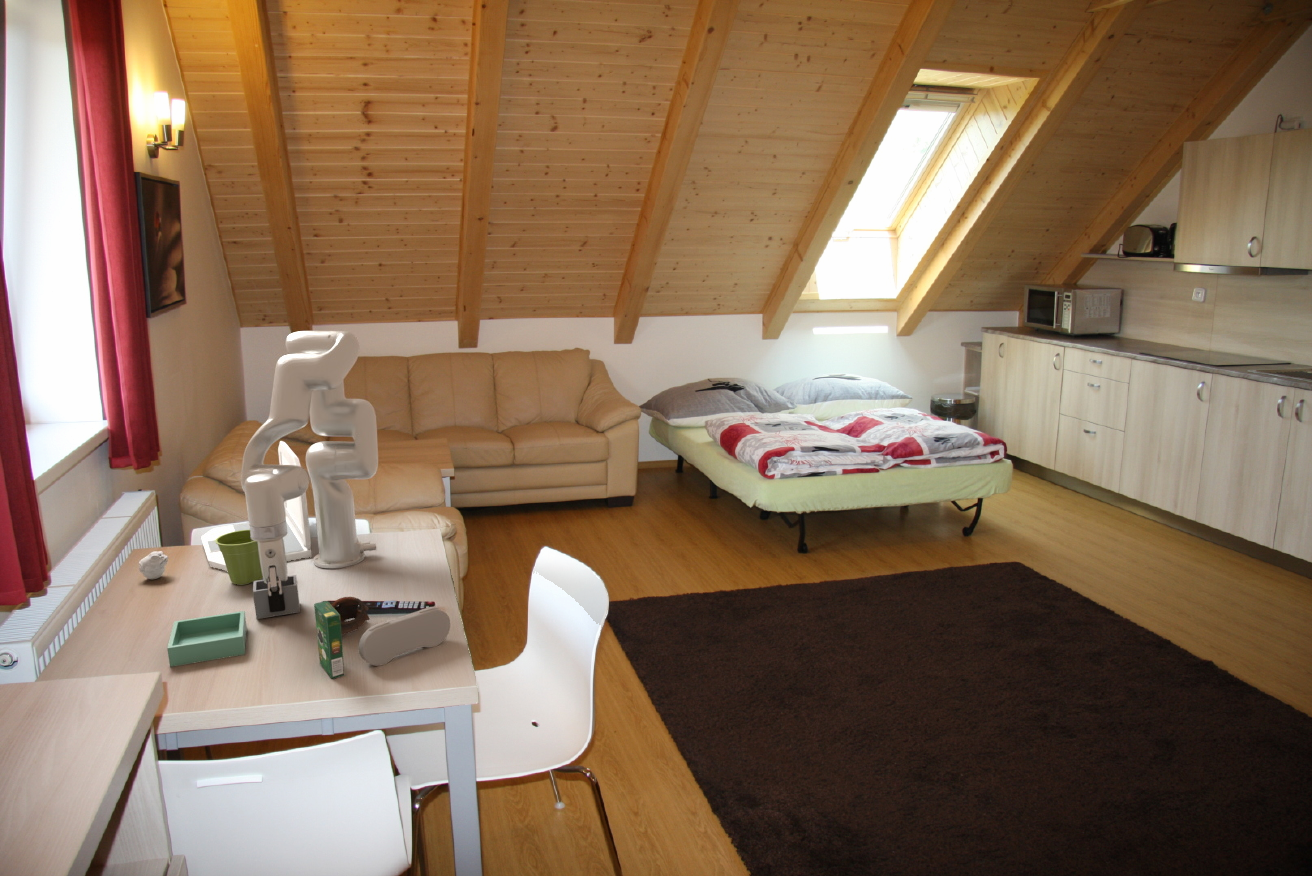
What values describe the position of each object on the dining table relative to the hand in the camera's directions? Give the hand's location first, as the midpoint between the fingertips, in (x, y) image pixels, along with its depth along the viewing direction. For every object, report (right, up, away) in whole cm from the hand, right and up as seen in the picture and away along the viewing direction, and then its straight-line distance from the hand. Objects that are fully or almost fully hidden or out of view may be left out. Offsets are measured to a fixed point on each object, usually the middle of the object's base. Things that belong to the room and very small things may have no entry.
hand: (277, 604), depth 207 cm
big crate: (-7, -6, -16) cm, 19 cm away
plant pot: (-16, +2, +19) cm, 25 cm away
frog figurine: (-39, +2, +21) cm, 44 cm away
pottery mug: (+18, -4, -8) cm, 20 cm away
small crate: (0, -1, 0) cm, 1 cm away
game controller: (+35, -7, -20) cm, 41 cm away
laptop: (-24, +7, +43) cm, 49 cm away
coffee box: (+22, -8, -27) cm, 36 cm away
